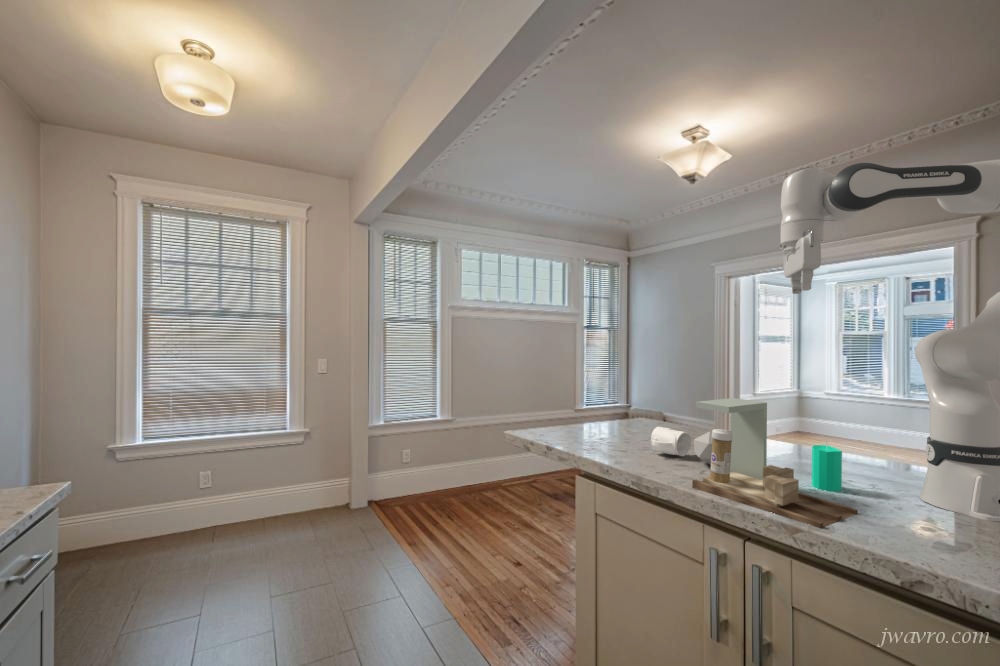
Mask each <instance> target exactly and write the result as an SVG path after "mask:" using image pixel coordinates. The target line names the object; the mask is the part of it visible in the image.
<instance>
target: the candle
mask: <svg viewBox="0 0 1000 666" xmlns="http://www.w3.org/2000/svg"><path fill="white" fill-rule="evenodd" d="M825 444H826V445H824V444H823V445H822V444H820V445H817V444H814V445H812V446H811V487H812V486H813V488H814V487H815V488H814V489H816V488H817V490H819V489H821V490H820V491H824V490H826V491H825V492H831V491H834V492H835V491H837V492H841V491H842V487H843V486H842V485H843V484H842V480H843V479H842V478H843V477H842V474H843V471H842V470H843V469H842V468H843V463H842V462H843V461H842V459H843V457H842V456H843V450H841V449H839V448H836V447H833V446H830V445H828V442H827V441H826V443H825ZM840 490H841V491H840Z"/></svg>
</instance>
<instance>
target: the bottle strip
mask: <svg viewBox="0 0 1000 666" xmlns="http://www.w3.org/2000/svg"><path fill="white" fill-rule="evenodd" d="M702 481H703V482H705V483H708V484H711V485H714V486H717V487H719V488H722V489H725V490H728V491H731V492H734V493H737V494H740V495H743V496H746V497H749V498H752V499H755V500H758V501H761V502H764V503H767V504H770V505H773V506H776V507H781V506H784V505H788V504H789V503H792V502H795V501H798V492H800V491H799V487H800V486H799V479H797V478H795V477H794V478H788V479H786V478H783V477H779V476H775V475H770V476H766V477H765V491H763V490H760V489H756V488H753V487H750V486H747V485H744V484H740V483H737V482H734V481H731V480H730V481H729V483H718V482H714V481H712V480H710V476H708V477H703V478H702Z"/></svg>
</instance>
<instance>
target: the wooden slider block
mask: <svg viewBox="0 0 1000 666" xmlns="http://www.w3.org/2000/svg"><path fill="white" fill-rule="evenodd" d="M794 473H795V471H794V468H791V467H779V466H776V465H771V464H768V465H766V466H763V480H760V479H756V478H753V477H750V476H746V475H743V474H739V473H736V472H730V480H731V481H734V482H737V483H740V484H744V485H747V486H750V487H753V488H756V489H760V490H763V491H765V477H766V476H770V475H775V476H779V477H783V478H786V479H788V478H794V479H795V476H794V475H795V474H794Z"/></svg>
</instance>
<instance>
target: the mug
mask: <svg viewBox="0 0 1000 666" xmlns="http://www.w3.org/2000/svg"><path fill="white" fill-rule="evenodd" d="M652 430H653V431H652V432H651V436H650V445H651V448H652V449H653V450H654V451H656V452H660V453H664V454H668V455H672V456H673V455H675V456H679V457H685V456H686V455H688V453H689V452H690V451H691V448H692V443H693V442H692V441H693V440H692V436H691V434H690V433H689V432H687V431H680V430H675V429H673V428H670V427H669V428H668V427H664V426H656V427H654V429H652Z"/></svg>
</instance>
